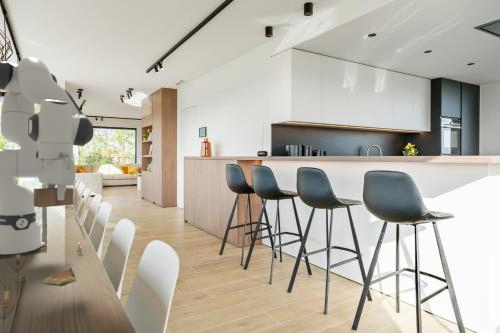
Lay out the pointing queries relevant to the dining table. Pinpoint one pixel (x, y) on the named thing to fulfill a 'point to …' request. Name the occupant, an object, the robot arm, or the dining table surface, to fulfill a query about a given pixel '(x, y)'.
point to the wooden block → (54, 197)
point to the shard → (61, 277)
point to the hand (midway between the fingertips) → (56, 199)
